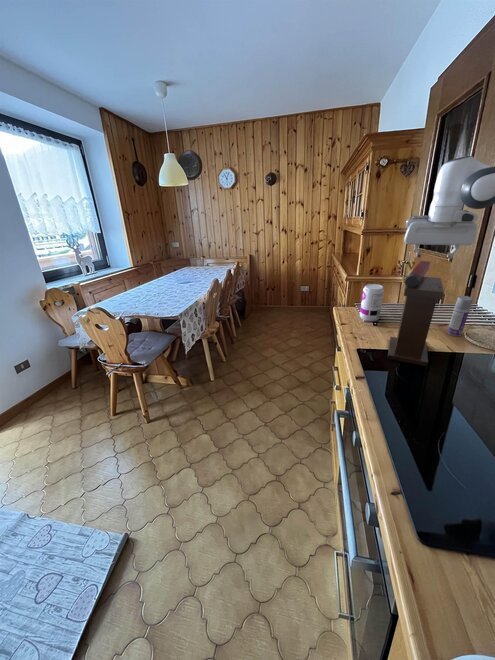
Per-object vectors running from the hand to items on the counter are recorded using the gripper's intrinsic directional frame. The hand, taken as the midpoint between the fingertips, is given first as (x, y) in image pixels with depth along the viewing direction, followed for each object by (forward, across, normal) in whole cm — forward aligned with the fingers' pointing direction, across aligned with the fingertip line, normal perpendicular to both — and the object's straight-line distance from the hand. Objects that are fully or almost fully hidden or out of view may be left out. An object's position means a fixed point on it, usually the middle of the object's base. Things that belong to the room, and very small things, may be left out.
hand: (433, 257), depth 98 cm
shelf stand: (+30, -4, -15) cm, 34 cm away
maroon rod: (+5, -5, -10) cm, 12 cm away
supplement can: (+31, -17, +11) cm, 37 cm away
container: (+31, +14, +4) cm, 34 cm away
